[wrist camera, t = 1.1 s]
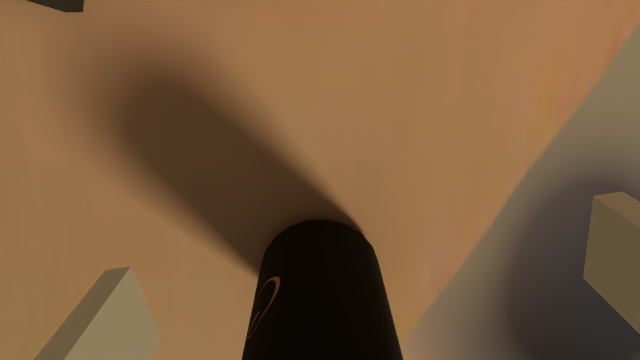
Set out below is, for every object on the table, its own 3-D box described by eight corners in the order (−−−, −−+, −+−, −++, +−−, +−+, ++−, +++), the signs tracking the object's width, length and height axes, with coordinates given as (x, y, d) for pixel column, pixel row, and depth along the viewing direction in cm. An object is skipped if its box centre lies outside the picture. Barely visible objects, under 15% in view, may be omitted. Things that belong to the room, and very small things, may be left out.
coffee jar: (266, 207, 34) (221, 393, 18) (386, 219, 35) (451, 408, 18) (259, 303, 38) (218, 525, 22) (366, 311, 39) (405, 534, 22)
